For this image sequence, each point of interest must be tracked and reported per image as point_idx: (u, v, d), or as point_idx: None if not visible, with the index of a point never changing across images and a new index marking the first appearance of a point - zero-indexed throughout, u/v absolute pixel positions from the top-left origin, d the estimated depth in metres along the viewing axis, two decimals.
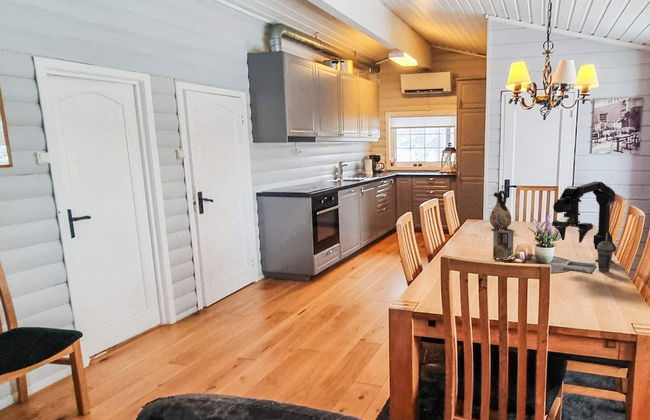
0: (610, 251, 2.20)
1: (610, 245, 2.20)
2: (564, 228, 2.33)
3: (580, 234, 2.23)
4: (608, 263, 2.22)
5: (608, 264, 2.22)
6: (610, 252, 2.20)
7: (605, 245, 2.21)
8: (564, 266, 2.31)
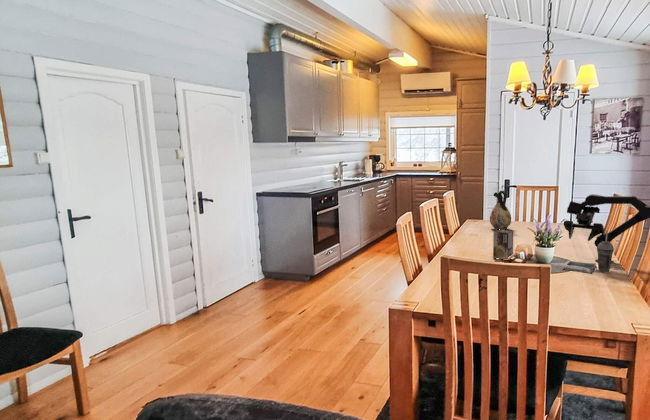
0: (610, 251, 2.20)
1: (610, 245, 2.20)
2: (572, 231, 2.44)
3: (592, 232, 2.34)
4: (608, 263, 2.22)
5: (608, 264, 2.22)
6: (610, 252, 2.20)
7: (605, 245, 2.21)
8: (564, 266, 2.31)
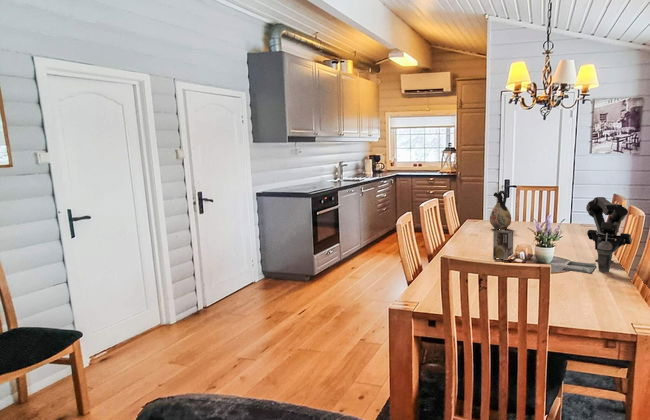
0: (610, 251, 2.20)
1: (610, 245, 2.20)
2: (599, 241, 2.29)
3: (617, 242, 2.20)
4: (608, 263, 2.22)
5: (608, 264, 2.22)
6: (610, 252, 2.20)
7: (605, 245, 2.21)
8: (564, 266, 2.31)
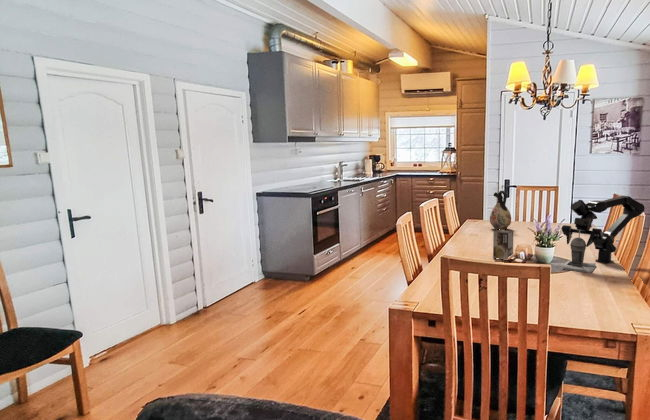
0: (582, 247, 2.28)
1: (582, 241, 2.28)
2: (570, 236, 2.37)
3: (590, 238, 2.27)
4: (581, 259, 2.29)
5: (581, 260, 2.29)
6: (582, 248, 2.28)
7: (578, 241, 2.28)
8: (564, 266, 2.31)
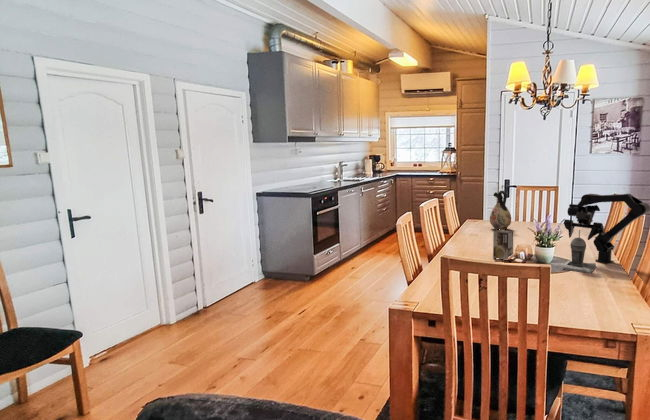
0: (582, 247, 2.28)
1: (582, 241, 2.28)
2: (572, 230, 2.46)
3: (592, 231, 2.36)
4: (581, 259, 2.29)
5: (581, 260, 2.30)
6: (582, 248, 2.28)
7: (578, 241, 2.28)
8: (564, 266, 2.31)
